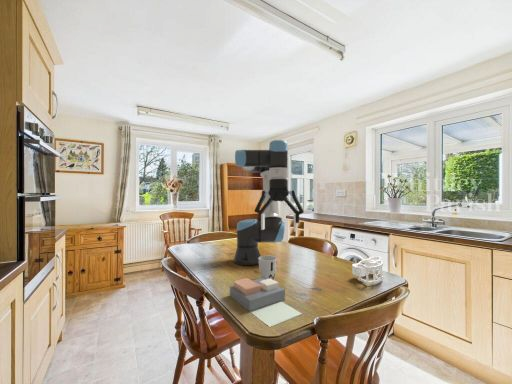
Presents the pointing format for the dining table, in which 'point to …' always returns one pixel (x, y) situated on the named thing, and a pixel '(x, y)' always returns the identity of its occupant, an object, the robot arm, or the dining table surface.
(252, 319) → the dining table surface
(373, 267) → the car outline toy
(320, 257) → the dining table surface
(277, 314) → the mat
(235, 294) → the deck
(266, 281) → the small tile
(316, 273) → the dining table surface
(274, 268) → the cup
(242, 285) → the tile
